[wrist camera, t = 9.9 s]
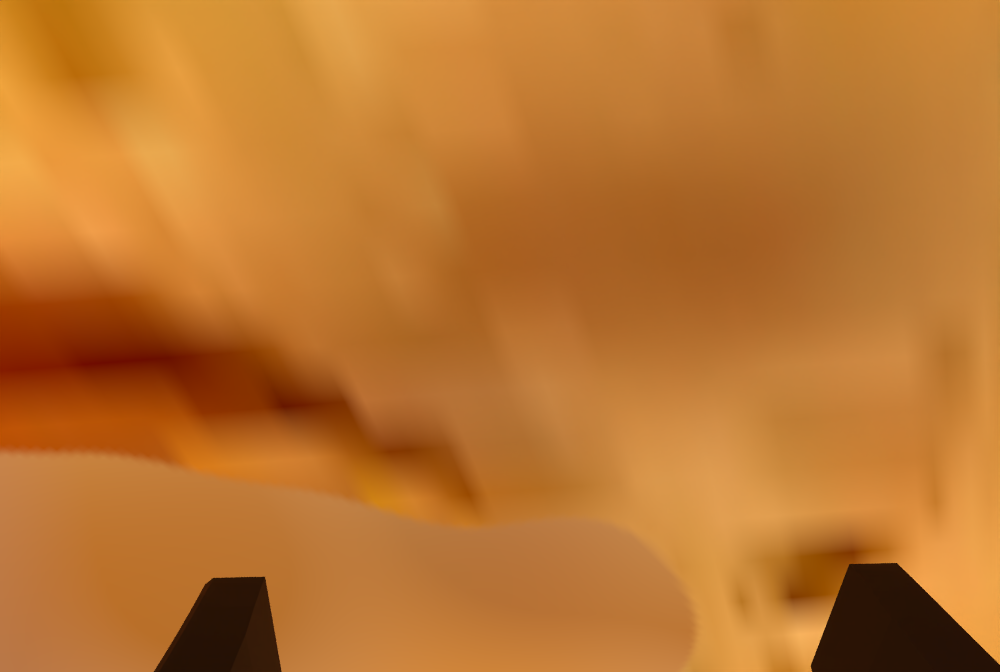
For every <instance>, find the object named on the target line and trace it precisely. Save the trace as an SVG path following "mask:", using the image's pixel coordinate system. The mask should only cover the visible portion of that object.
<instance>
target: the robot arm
mask: <svg viewBox="0 0 1000 672" xmlns="http://www.w3.org/2000/svg"><path fill="white" fill-rule="evenodd" d="M811 669H812V672H1000V665H999V664H998V663H997V662H996V661H995V660H994V659H993V658H992V657H991V656H990V655H989V654H988V653H987V652H986V651H985V650H984V649H983V648H982V647H981V646H980V645H979V644H978V643H977V642H976V641H975V640H974V639H973V638H972V637H971V636H970V635H969V634H968V633H967V632H966V631H965V630H964V629H963V628H962V627H961V626H960V625H959V624H958V623H957V622H956V621H955V620H954V619H953V618H952V617H951V616H950V615H949V614H948V613H947V612H946V611H945V610H944V609H943V608H942V607H941V606H940V605H939V604H938V603H937V602H936V601H935V600H934V599H933V598H932V597H931V596H930V595H929V594H928V593H927V592H926V591H925V590H924V589H923V588H922V587H921V586H920V585H919V584H918V583H917V582H916V581H915V580H914V579H913V578H912V577H911V576H910V575H908V574H907V573H906V572H905V571H904V570H903V569H902V568H901V567H900V566H899V565H898V564H897V563H881V564H849V567H848V569H847V572H846V575H845V577H844V580H843V583H842V585H841V588H840V590H839V593H838V596H837V598H836V601H835V604H834V606H833V609H832V611H831V614H830V617H829V619H828V622H827V625H826V627H825V630H824V633H823V635H822V638H821V640H820V643H819V646H818V648H817V651H816V654H815V656H814V659H813V661H812V664H811ZM154 672H281V667H280V660H279V655H278V650H277V644H276V638H275V632H274V626H273V620H272V614H271V609H270V603H269V597H268V591H267V586H266V580H265V577H236V578H213V579H211V580H210V581H209V582H208V583H207V584H205V586H204V588H203V589H202V591H201V593H200V595H199V597H198V598H197V600H196V602H195V604H194V606H193V607H192V609H191V611H190V613H189V615H188V616H187V618H186V620H185V621H184V623H183V625H182V626H181V628H180V630H179V632H178V634H177V635H176V637H175V638H174V640H173V642H172V644H171V645H170V647H169V648H168V650H167V651H166V653H165V655H164V656H163V658H162V660H161V661H160V663H159V664H158V666H157V668H156V669H155V671H154Z"/></svg>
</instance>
